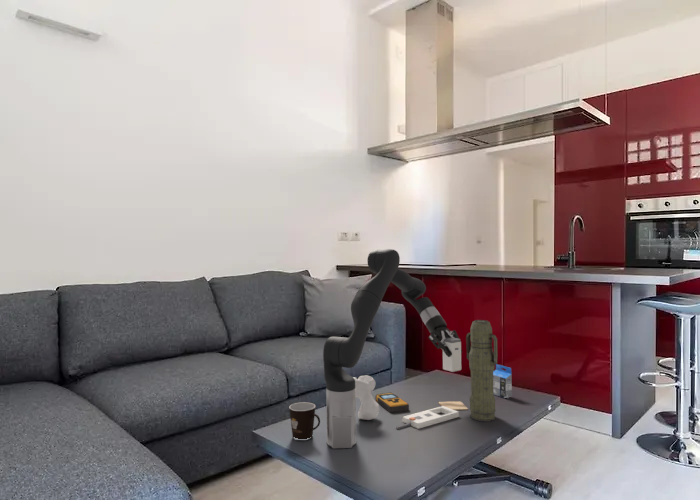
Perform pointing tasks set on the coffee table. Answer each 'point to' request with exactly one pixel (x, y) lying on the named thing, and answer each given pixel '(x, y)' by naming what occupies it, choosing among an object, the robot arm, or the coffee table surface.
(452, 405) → the cork coaster
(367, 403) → the white irregular upright piece
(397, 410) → the electronic device
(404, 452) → the coffee table surface
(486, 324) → the thermos
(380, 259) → the robot arm
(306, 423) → the coffee mug
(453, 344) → the block
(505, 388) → the label tape box
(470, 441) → the coffee table surface
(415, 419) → the power strip
